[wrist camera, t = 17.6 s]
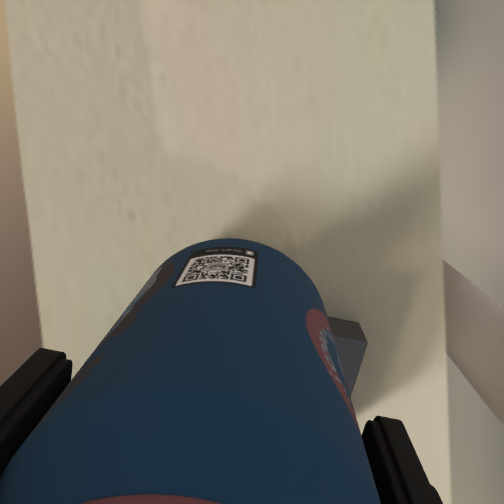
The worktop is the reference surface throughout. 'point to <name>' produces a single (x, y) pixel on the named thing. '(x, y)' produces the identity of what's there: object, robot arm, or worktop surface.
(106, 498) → the soda can
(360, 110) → the worktop surface
